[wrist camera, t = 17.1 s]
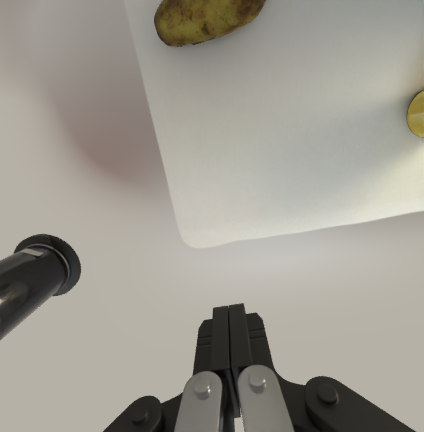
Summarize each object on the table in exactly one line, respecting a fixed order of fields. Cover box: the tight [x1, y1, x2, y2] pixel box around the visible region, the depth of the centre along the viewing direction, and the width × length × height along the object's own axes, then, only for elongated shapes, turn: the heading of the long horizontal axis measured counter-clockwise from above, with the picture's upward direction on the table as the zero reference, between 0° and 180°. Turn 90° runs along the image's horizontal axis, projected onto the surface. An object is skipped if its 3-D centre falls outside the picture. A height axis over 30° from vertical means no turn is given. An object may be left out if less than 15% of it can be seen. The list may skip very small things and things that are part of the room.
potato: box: [154, 0, 266, 47], centre depth 28 cm, size 8×13×8 cm, turn 85°
